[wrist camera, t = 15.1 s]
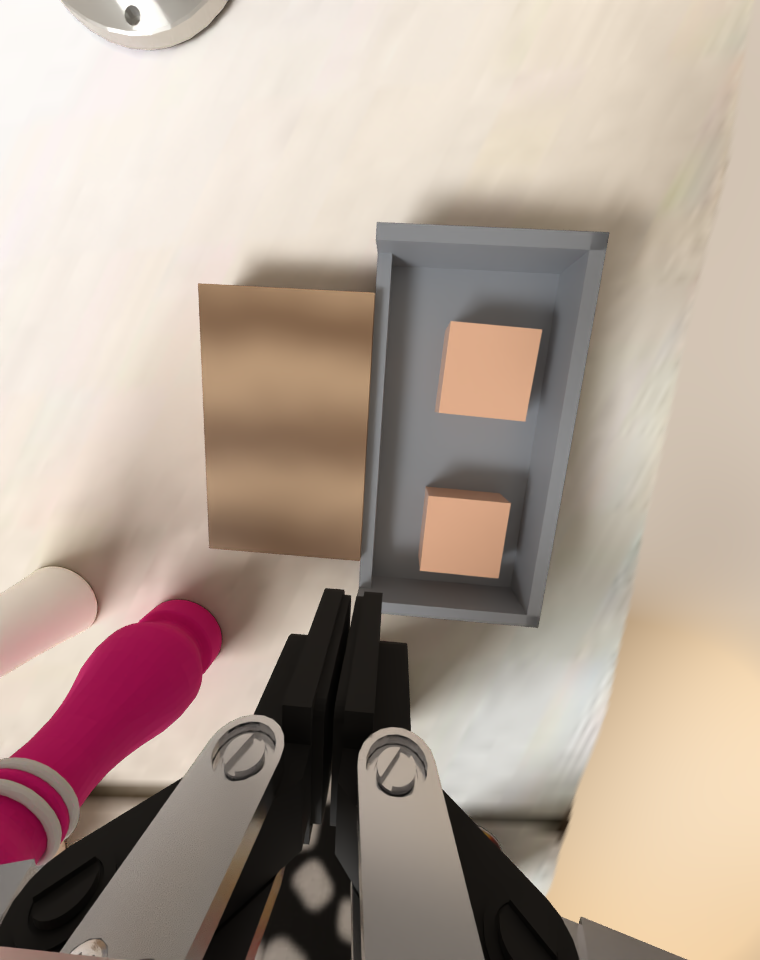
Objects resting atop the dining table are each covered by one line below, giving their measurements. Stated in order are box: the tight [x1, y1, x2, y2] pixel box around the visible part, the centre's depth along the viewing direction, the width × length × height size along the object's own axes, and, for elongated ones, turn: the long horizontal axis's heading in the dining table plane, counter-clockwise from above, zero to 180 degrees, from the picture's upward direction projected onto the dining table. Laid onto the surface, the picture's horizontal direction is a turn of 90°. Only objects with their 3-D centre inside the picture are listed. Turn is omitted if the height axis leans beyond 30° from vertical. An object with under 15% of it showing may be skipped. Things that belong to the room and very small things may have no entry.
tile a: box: [435, 321, 542, 422], centre depth 21 cm, size 5×5×2 cm
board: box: [198, 283, 375, 561], centre depth 23 cm, size 16×10×3 cm, turn 176°
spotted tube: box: [255, 773, 352, 960], centre depth 19 cm, size 8×8×20 cm
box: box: [357, 222, 609, 628], centre depth 22 cm, size 22×12×4 cm, turn 176°
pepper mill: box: [0, 600, 222, 866], centre depth 19 cm, size 7×7×20 cm
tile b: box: [418, 487, 511, 578], centre depth 23 cm, size 5×5×2 cm
